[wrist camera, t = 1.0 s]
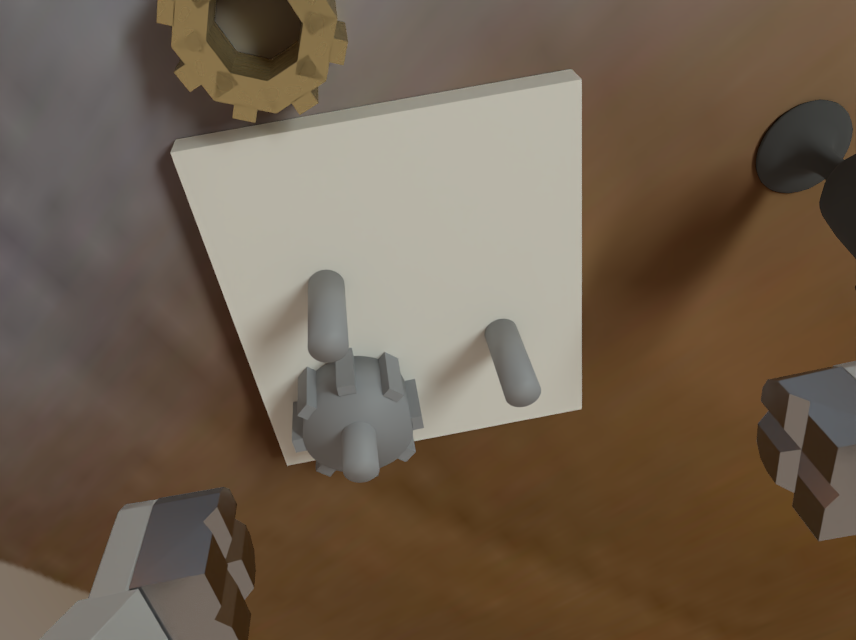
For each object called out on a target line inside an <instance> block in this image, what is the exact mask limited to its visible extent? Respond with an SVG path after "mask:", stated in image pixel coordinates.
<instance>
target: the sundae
mask: <svg viewBox="0 0 856 640" xmlns="http://www.w3.org/2000/svg"><path fill="white" fill-rule="evenodd" d="M852 131H853V128H852V122H851V119H850V116H849V114H848V112H847V111H846V110H845V109H844V108H843V107H842V106H841V105H839V104H838V103H836V102H832V101H828V100H815V101H810V102H807V103H803V104H800V105H798V106H797V107H795V108H793V109H791V110H790V111H788V112H787V113H785V114H784V115H782V116H781V117H780V118H779V119H778V120H777V121H776V122H775V123H774V124H773V125H772V127H771V128H770V129H769V130H768V131H767V133H766V135H765V136H764V138H763V140H762V142H761V144H760V147H759V149H758V153H757V159H756V169H757V173H758V176H759V178H760V180H761V182H762V183H763V184H764V185H765V186H766V187H768V188H769V189H771V190H772V191H776V192H781V193H792V192H798V191H802V190H806V189H809V188H811V187H813V186H815V185H816V184H818V183H820V182H821V181H823V180H824V179H825V180H826V182H825V184H824V188H823V191H822V194H821V198H820V202H819V203H820V210H821V213H822V216H823V217H824V219H825V220H826V222H827V223H828V225H829V226H830V228H831V229H832V231H833V232H834V234H835V235H836V236H837V238H838V239H839V240H840V241H841V242H842V243H843V245H844V246H845V247H846V248H847V249H848V250H849V251H850V253H851V254H852V255H853V256H854V257H855V258H856V154H855V155H853V156H851V157H849V158H847V159H846V160H843V157H844V155H845V153H846V152H847V150H848V148H849V145H850V142H851V138H852ZM855 289H856V286H855Z"/></svg>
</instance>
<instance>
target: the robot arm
mask: <svg viewBox="0 0 856 640" xmlns="http://www.w3.org/2000/svg"><path fill="white" fill-rule="evenodd" d="M761 402H762V403H763V404H764V405H765V407H766V408H767V409H768V410H769V411H768V412H767V414H766V415H765V416H764V417H763V418H762V419H761V421H760V422H759V423H758V429H757V445H758V449H759V454H760V458H761V460H762V462H763V464H764V467H765V469H766V471H767V472H768V474H769V475H770V476H771V478H772V479H773V481H774V482H775V483H776V484H777V485H779V486H781V487H783V488H785V489H787V490H789V491H791V492H793V493H794V498H793V505H792V506H793V508H794V509H795V510H796V512H797V513H798V514H799V516H800V517H801V518H802V520H803V521H804V522H805V524H806V525H807V526H808V528H809V529H810V530H811V532H812V533H813V534H814V536H815V537H816V538H817V540H818V541H822V540H828V539H834V538H840V537H845V536H851V535H856V361H853V362H848V363H844V364H839V365H834V366H833V367H827V368H822V369H817V370H812V371H807V372H802V373H798V374H793V375H788V376H783V377H778V378H773V379H768V380H767V381H766V383H765V385H764V386H763V389H762V396H761ZM236 508H237V503H236V501H235V499H234V497H233V495H232V493H231V491H230V489H228V488H225V487H221V488H215V489H210V490H204V491H198V492H192V493H187V494H181V495H175V496H169V497H163V498H159V499H157V500H151V501H145V502H139V503H133V504H127V505H125V506H124V507H123V508H122V509H121V510H120V511H119V512H118V514H117V517H116V520H115V523H114V526H113V528H112V531H111V534H110V537H109V540H108V543H107V546H106V548H105V551H104V554H103V557H102V560H101V563H100V566H99V569H98V571H97V574H96V577H95V580H94V583H93V586H92V589H91V592H90V594H89V597H88V599H84V600H79V601H77V602H76V603H75V604H74V605H73V606H72V607H71V608H70V609H69V610H68V611H67V612H66V613H65V614H64V615H63V616H62V617H61V618H60V619H59V620H58V621H57V622H56V623H55V624H54V625H53V626H52V627H51V628H50V629H49V630H48V631H47V632H46V633H45V634H44V635H43V636H42V637H41V638H40V639H39V640H248V636H249V627H250V619H251V613H250V611H249V609H248V607H247V604H246V602H245V599H246V597H247V596H248V595H249V594H250V592H251V591H252V590H253V588H254V583H255V572H256V569H255V555H254V548H253V544H252V540H251V536H250V534H249V531H248V529H247V526H246V525H245V524H243V523H241V522H240V521H238V520H236V519H235V515H236Z"/></svg>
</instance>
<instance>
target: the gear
mask: <svg viewBox="0 0 856 640" xmlns="http://www.w3.org/2000/svg"><path fill="white" fill-rule="evenodd" d="M288 2H289V3H290V5H291V6H292V8H293V9H294V11H295V12H296V14H297V15H298V17H299V18H300V20H301V27H300V34H299V40H298V42H296V43H295V44H293V45H292V46H290V47H289V48H287V49H286V50H284V51H283V52H281V53H280V54H278V55H277V56H275V57H274V58H272V59H268V58H263V57H259V56H254V55H250V54H245V53H241V52H237V51H236V50H235V48H234V47H233V46H232V44H231V43H230V42H229V40H228V39H227V37H226V36H225V35H224V33H223V32H222V31H221V29H220V28H219V27H218V25H217V24H216V23H215V11H216V0H158V2H157V23H160V24H165V25H169V26H172V42H171V47H172V49H173V50H174V51H175V52H176V54H177V55H178V56H179V57H180V61H179V63H178V65H177V67H176V69H175V71H174V73H175V75H176V76H177V77H178V78H179V79H180V81H181V82H182V83H183V84H184V86H185V87H186V88H187V89H188V90H189V92H191V91H193V90H194V89H195V88H197V87H198V86H200V85H202V86H203V87H204V89H205V90H206V91H207V92H208V94H209V95H210V96H211V97H212V99H213V100H214V101H217V102H222V103H227V104H232V105H234V109H233V118H234V119H239V120H244V121H249V122H254V123H256V117H257V111H258V110H261V111H266V112H271V113H278V112H279V111H281V110H283V109H284V108H286V107H287V106H289V105H290V104H292V105H293V106H294V107H295V109H296V110H297V112H298V113H299V114H300V115H301V114H302V113H304V112H305V111H307V110H308V109H310V108H311V107H313V106H314V105H316V104H318V86H319V85H321V84H322V83H324V82H325V81H326V78H327V73H328V67H329V62H332V63H336V64H340V65H344V60H345V54H346V49H347V44H348V39H347V33H346V26H345V23H344V22H340V21H337V11H336V3H335V0H288Z"/></svg>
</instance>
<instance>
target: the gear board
mask: <svg viewBox="0 0 856 640" xmlns="http://www.w3.org/2000/svg"><path fill="white" fill-rule="evenodd" d="M170 154H171V156H172V159H173V162H174V164H175V167H176V170H177V172H178V175H179V178H180V180H181V183H182V186H183V188H184V191H185V194H186V196H187V199H188V202H189V204H190V207H191V210H192V212H193V215H194V218H195V220H196V223H197V226H198V228H199V231H200V234H201V236H202V239H203V242H204V244H205V247H206V250H207V253H208V255H209V258H210V261H211V263H212V266H213V269H214V271H215V274H216V277H217V279H218V282H219V285H220V287H221V290H222V293H223V295H224V298H225V301H226V303H227V306H228V309H229V311H230V314H231V317H232V319H233V322H234V325H235V327H236V330H237V333H238V335H239V338H240V341H241V343H242V346H243V349H244V351H245V354H246V357H247V359H248V362H249V365H250V367H251V370H252V373H253V375H254V378H255V381H256V383H257V386H258V389H259V392H260V394H261V397H262V400H263V402H264V405H265V408H266V410H267V413H268V416H269V418H270V421H271V424H272V426H273V429H274V432H275V434H276V437H277V440H278V442H279V445H280V448H281V450H282V453H283V456H284V458H285V461H286V464H287V466H288V465H293V464H298V463H304V462H309V461H314V460H316V471H317V472H320V473H322V474H325V475H327V476H331V475H332V474H333V473H334V472H335V471H336V470H338V471H343V474H344V476H345V477H346V478H347V479H348V480H350V481H353V482H367V481H369V480H372V479H373V478H375V477H376V476H378V473H379V468H381V467H383V466H385V465H388V464H389V463H391V462H393V461H394V460H396V459H397V458H398V459H400V460H403V461H405V462H406V461H407V460H408V459H409V458H410V457H411V456H412V455H413V454H414V453H415V452H416V451H415V445H414V441H418V440H423V439H428V438H433V437H439V436H444V435H449V434H454V433H459V432H464V431H470V430H475V429H480V428H485V427H490V426H496V425H501V424H506V423H511V422H516V421H522V420H527V419H532V418H537V417H542V416H548V415H553V414H558V413H563V412H568V411H574V410H579V409H582V79H581V78H580V77H579V76H578V75H577V74H576V73H575V72H574V71H573V70H572V69H569V70H563V71H557V72H552V73H546V74H540V75H535V76H529V77H524V78H518V79H512V80H507V81H501V82H495V83H490V84H484V85H479V86H473V87H467V88H462V89H456V90H451V91H445V92H439V93H434V94H428V95H422V96H417V97H411V98H406V99H400V100H394V101H389V102H383V103H378V104H372V105H366V106H361V107H355V108H349V109H344V110H338V111H333V112H327V113H321V114H316V115H310V116H305V117H299V118H293V119H288V120H282V121H276V122H271V123H265V124H260V125H254V126H248V127H243V128H237V129H232V130H226V131H220V132H215V133H209V134H203V135H198V136H192V137H187V138H181V139H176V140H175V142H174V145H173V147H172V149H171V152H170Z"/></svg>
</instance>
